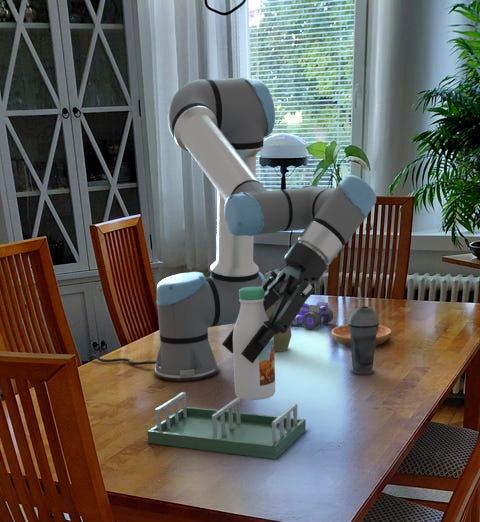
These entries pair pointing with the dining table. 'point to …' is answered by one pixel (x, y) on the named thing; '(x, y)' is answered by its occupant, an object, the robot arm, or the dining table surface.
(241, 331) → the milk bottle
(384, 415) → the dining table surface
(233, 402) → the drying rack
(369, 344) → the beverage cup
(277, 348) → the squeeze bottle
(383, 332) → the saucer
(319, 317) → the toy race car
